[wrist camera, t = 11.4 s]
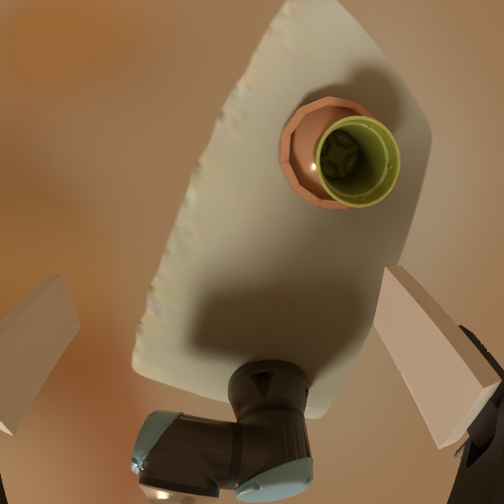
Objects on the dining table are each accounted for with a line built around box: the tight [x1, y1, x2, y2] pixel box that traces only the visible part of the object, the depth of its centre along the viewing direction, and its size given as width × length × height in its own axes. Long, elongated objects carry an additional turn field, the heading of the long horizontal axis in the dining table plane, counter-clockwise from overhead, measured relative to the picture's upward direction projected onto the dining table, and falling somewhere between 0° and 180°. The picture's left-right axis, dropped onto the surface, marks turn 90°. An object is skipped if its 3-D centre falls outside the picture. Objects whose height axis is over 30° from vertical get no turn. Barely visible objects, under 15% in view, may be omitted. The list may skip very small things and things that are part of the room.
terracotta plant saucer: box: [279, 96, 380, 210], centre depth 34 cm, size 14×14×2 cm
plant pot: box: [313, 116, 400, 207], centre depth 30 cm, size 9×9×9 cm
